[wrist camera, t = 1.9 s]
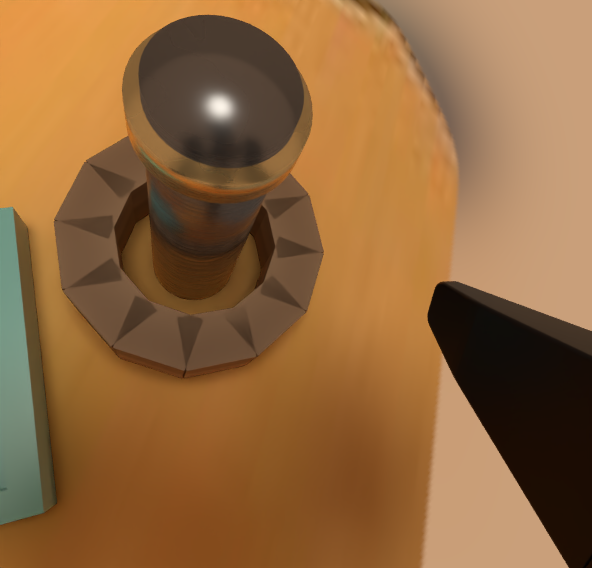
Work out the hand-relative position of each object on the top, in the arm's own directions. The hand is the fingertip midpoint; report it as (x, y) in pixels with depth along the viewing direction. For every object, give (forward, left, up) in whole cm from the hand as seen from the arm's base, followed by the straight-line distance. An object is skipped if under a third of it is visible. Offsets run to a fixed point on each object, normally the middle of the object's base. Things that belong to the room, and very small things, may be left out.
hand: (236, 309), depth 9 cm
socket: (+5, -1, -11) cm, 12 cm away
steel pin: (+5, -1, -11) cm, 12 cm away
